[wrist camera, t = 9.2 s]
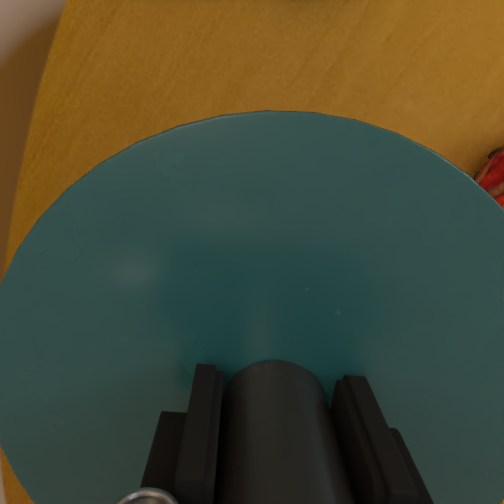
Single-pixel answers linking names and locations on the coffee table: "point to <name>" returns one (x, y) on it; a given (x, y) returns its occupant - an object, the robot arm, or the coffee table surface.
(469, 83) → the coffee table surface
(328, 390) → the lid
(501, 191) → the dragon fruit
